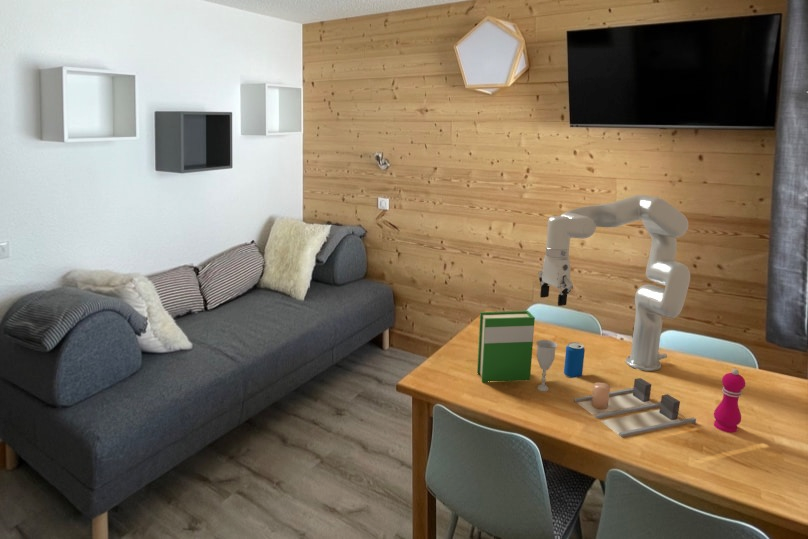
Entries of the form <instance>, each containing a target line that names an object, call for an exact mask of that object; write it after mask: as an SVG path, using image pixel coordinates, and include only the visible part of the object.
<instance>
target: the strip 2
mask: <svg viewBox="0 0 808 539" xmlns="http://www.w3.org/2000/svg"><path fill="white" fill-rule="evenodd" d="M660 402H661V404H660V407H659V409H654V410H650V411H645V412H640V413H633V414H630V415H629V414H628V415H624V416H618V417H615V418H609V419H604V420H600V423H602V424H603V425H605V426H606V427H607V428H608V429H610V430H611V431H613V432H614V433H615V434H616V435H618V436H619V433H620V432H625V431H629V430H634V429H639V428H644V427H649V426H654V425H659V424H664V423H668V422H673V421H678V420H680V419H679V414H678V413H679V412H680V405H681V401H680V400H678V399H677V398H675V397H674V396H672V395H670V394H669V393H666V394H661V398H660Z"/></svg>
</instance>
